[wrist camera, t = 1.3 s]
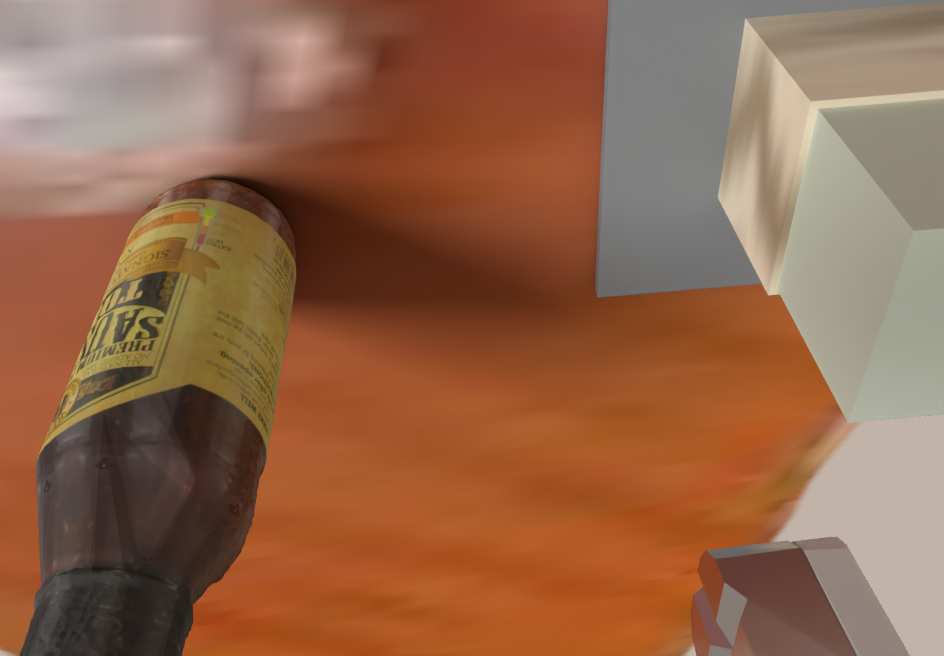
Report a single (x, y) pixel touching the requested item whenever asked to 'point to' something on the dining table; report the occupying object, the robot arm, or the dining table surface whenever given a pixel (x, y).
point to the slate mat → (675, 141)
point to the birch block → (813, 104)
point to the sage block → (872, 257)
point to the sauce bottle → (163, 425)
